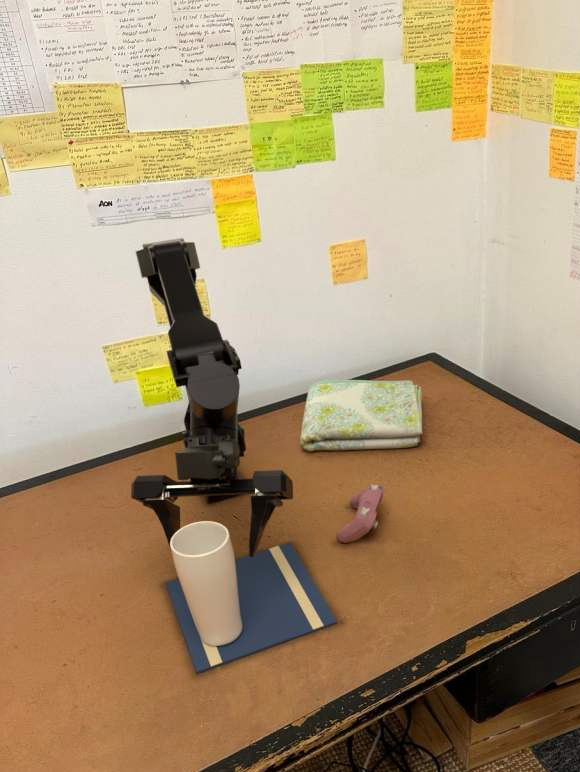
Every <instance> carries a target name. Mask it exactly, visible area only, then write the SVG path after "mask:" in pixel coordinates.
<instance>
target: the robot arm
mask: <svg viewBox="0 0 580 772" xmlns="http://www.w3.org/2000/svg"><path fill="white" fill-rule="evenodd" d="M141 246H142V247H141V249H139V250H135V253H134V254H135V257H136V262H137V266H138V269H139V274H140V277H141V279H146V283H147V286H148V289H149V291H150V293H151V294H152V295H153V296H154V297H155V298H156V299H157V300H158V302H159V303H161V305H163V307H164V310H165V313H166V317H167V322H168V325H169V329H168V331H167V335H168V340H169V345H170V350H169V349H168V350H166V355H167V359H168V363H169V368H170V371H171V375H172V379H173V381H174V384H175V387H176V388H181V387H184V388H185V391H186V396H187V399H188V404H187V407H186V411H185V414H184V417H183V426H184V429H185V431H181V436H182V441H183V445H184V446H183V447H184V448H182V449H180V450H178V451H175V452H174V456H175V465H176V466H175V467H176V475H177V480H179V481H176V480H175V479H172V478H170V477H169V476H167V475H166V474H154V475H153V474H151V475H150V474H149V475H137V476H135V478H134V479H133V481H132V483H131V487H130V489H131V494H130V495H131V496H130V498H131V499H133V500H135V501H137V502H140V503H142V505H143V506H144V507H146V508H148V509H150V510H153V512H154V513H155V514H156V516H157V519H158V521H159V523H160V524H161V526H162V529H163V532H164V535H165V537H166V540H167V544H168V546H169V549H170V550H171V547H170V541H171V538H172V536H173V535H174V534H175V533H176V532H177V531H178V530H179V529H181V507H180V506H179V505H177V504H175V501H177V500H178V498H181V497H182V498H185V497H204V500H205V502H206V503H208V504H211V503H215V502H217V501H222V500H224V499H228V498H232V497H235V496H238V495H250V507H251V516H250V525H249V538H248V554H249V555H248V556H250V557H254V556H255V554H256V553H257V551H258V548H259V545H260V542H261V540H262V537H263V535H264V532H265V529H266V527H267V524H268V523H269V521H270V519H271V517H272V515H273V513H274V511H275V509H276V508H278V507H284V506H283V505H284V503H283V502H284V501H287V500H288V501H289V500H293V499H294V485H293V480H292V479H291V478H290V476H289V475H288V474H287V473H286V472H285V471H284V470H282V469H275V470H273V469H272V470H271V469H270V470H254V472H253V475H252V478H241V476H240V474H239V469H238V468H239V466H240V465H241V458H243V457H245V452H246V450H247V446H246V439H245V438H246V437H245V429H244V428H243V427H241V425H240V424H239V422H238V406H239V399H240V398H239V397H240V387H241V385H240V379H239V374H240V373H239V371H240V370H242V369H243V368H242V363H241V359H240V357H239V355H238V352H237V350H236V348H235V347H234V346H232V345H231V344H230V341H229V340H228V339H223V336H222V334H221V333H222V332H221V331H220V328H219V325H218V323H217V322H216V321H214V320H212V319H211V318H209V317H208V316H207V315H205V313H204V310H203V306H202V303H201V301H200V297H199V294H198V290H197V287H196V286H197V272H196V270H199V269H201V264H200V261H199V260H200V259H199V256H198V252H197V247H196V243H195V241H185V239H184V237H179V238H172V239H166V240H160V241H159V240H158V241H153V242H147V243H141Z"/></svg>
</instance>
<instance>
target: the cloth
mask: <svg viewBox="0 0 580 772" xmlns="http://www.w3.org/2000/svg"><path fill="white" fill-rule="evenodd" d="M235 564H236V574H237V585H238V596H239V606H240V615H241V620H242V631H241V633H240V635H239V636H238V638H237V639H235V640H234V641H233V642H231V643H229V644H226V645H222V646H213V645H209V644H207V643H205V642H204V641H203V640H202V639H201V637H200V635H199V632H198V628H197V625H196V622H195V619H194V617H193V614H192V611H191V609H190V606H189V604H188V601H187V599H186V596H185V593H184V591H183V588H182V586H181V583H180V581H179V578H178V577H177V578H174V579H171V580H168V581H165V586H166V589H167V592H168V594H169V598H170V600H171V604H172V606H173V609H174V612H175V615H176V618H177V620H178V623H179V626H180V630H181V632H182V636H183V638H184V641H185V644H186V647H187V650H188V653H189V655H190V656H189V657H190V659H191V661H192V664H193V667H194V670H195V674H196V675H199V674H202V673H204V672H207V671H210V670H212V669H215V668H218V667H221V666H223V665H226V664H229V663H232V662H234V661H237V660H240V659H242V658H245V657H248V656H251V655H254V654H256V653H259V652H262V651H265V650H267V649H270V648H273V647H276V646H279V645H281V644H285V643H287V642H289V641H292V640H295V639H298V638H301V637H303V636H306V635H309V634H312V633H314V632H318V631H320V630H323V629H325V628H328V627H331V626H335V625H336V624H338V620H337V619H336V617H335V615H334V613H333V612H332V610H331V608H330V606H329V605H328V603H327V602H326V600H325V598H324V597H323V595H322V593H321V592H320V590H319V588H318V586H317V584H316V583H315V581H314V579H313V578H312V577H311V574H310V573H309V572H308V570H307V568H306V566H305V565H304V563H303V561H302V560H301V557H300V556H299V555H298V553H297V551H296V549H295V548H294V546H293V544H292V543H291V542H287V543H284V544H280V545H276V546H273V547H269V548H268V549H265V550H262V551H259V552H256V554H255V556H254V557H250V556H249V555H246V556H243V557H240V558H237V559H235Z"/></svg>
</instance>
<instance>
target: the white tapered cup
mask: <svg viewBox="0 0 580 772" xmlns="http://www.w3.org/2000/svg"><path fill="white" fill-rule="evenodd" d="M170 547H171V549H170V552H171V556H172V557H171V558H172V561H173V565H174V568H175V572H176V575H177V578H179V581H180V583H181V586H182V588H183V591H184V593H185V596H186V599H187V601H188V604H189V606H190V609H191V611H192V614H193V617H194V619H195V622H196V625H197V628H198V632H199V635H200V637H201V639H202V640H203V641H204V642H205V643H207V644H209V645H213V646H222V645H226V644H229V643H231V642H233V641H234V640H235V639H237V638H238V636H239V635H240V633H241V631H242V620H241V615H240V606H239V596H238V585H237V574H236V564H235V560H236V558H235V552H234V551H235V550H234V548H233V542H232V539H231V535H230V532H229V529H228V528H227V527H226V526H225V525H224V524H221V523H219V522H217V521H213V520H211V521H210V520H201V521H196V522H192V523H189V524H186V525H184V526H181V527H180V529H179V530H178V531H177V532H176V533H175V534H174V535H173V536H172V538H171V541H170V546H169V548H170Z"/></svg>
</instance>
